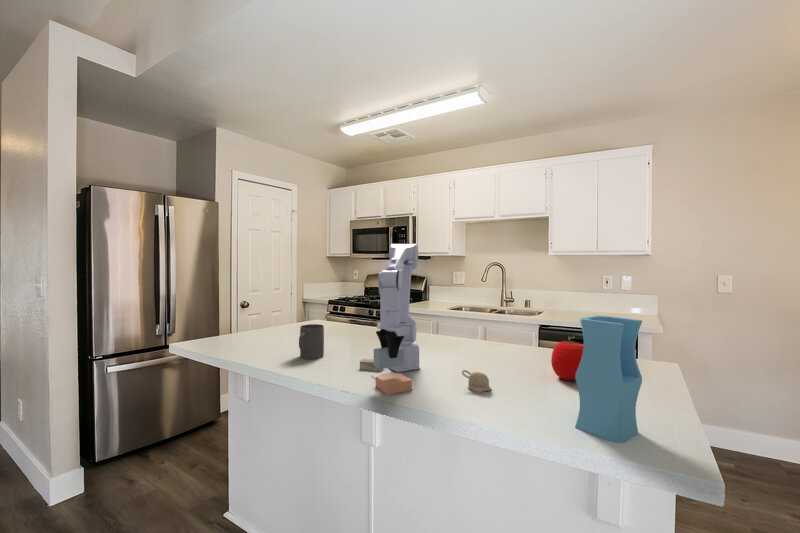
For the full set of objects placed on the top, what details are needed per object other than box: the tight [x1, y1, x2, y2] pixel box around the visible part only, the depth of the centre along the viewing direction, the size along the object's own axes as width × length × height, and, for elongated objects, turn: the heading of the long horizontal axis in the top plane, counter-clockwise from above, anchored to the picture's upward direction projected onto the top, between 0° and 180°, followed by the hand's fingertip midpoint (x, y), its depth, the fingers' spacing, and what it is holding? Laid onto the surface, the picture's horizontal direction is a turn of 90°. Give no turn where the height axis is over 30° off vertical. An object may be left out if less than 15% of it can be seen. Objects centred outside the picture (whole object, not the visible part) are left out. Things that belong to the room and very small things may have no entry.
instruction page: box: [370, 371, 395, 380], centre depth 124 cm, size 8×6×1 cm
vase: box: [574, 315, 643, 444], centre depth 85 cm, size 10×10×25 cm
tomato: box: [550, 339, 584, 382], centre depth 121 cm, size 12×12×13 cm
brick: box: [359, 358, 385, 371], centre depth 133 cm, size 4×8×3 cm, turn 80°
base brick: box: [375, 372, 413, 395], centre depth 112 cm, size 8×8×3 cm
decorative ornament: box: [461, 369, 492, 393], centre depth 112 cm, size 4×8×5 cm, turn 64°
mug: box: [298, 323, 325, 360], centre depth 147 cm, size 14×9×12 cm
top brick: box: [373, 347, 404, 369], centre depth 113 cm, size 8×4×5 cm, turn 118°
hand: (389, 355), depth 113 cm, fingers closed on top brick, 4 cm apart
